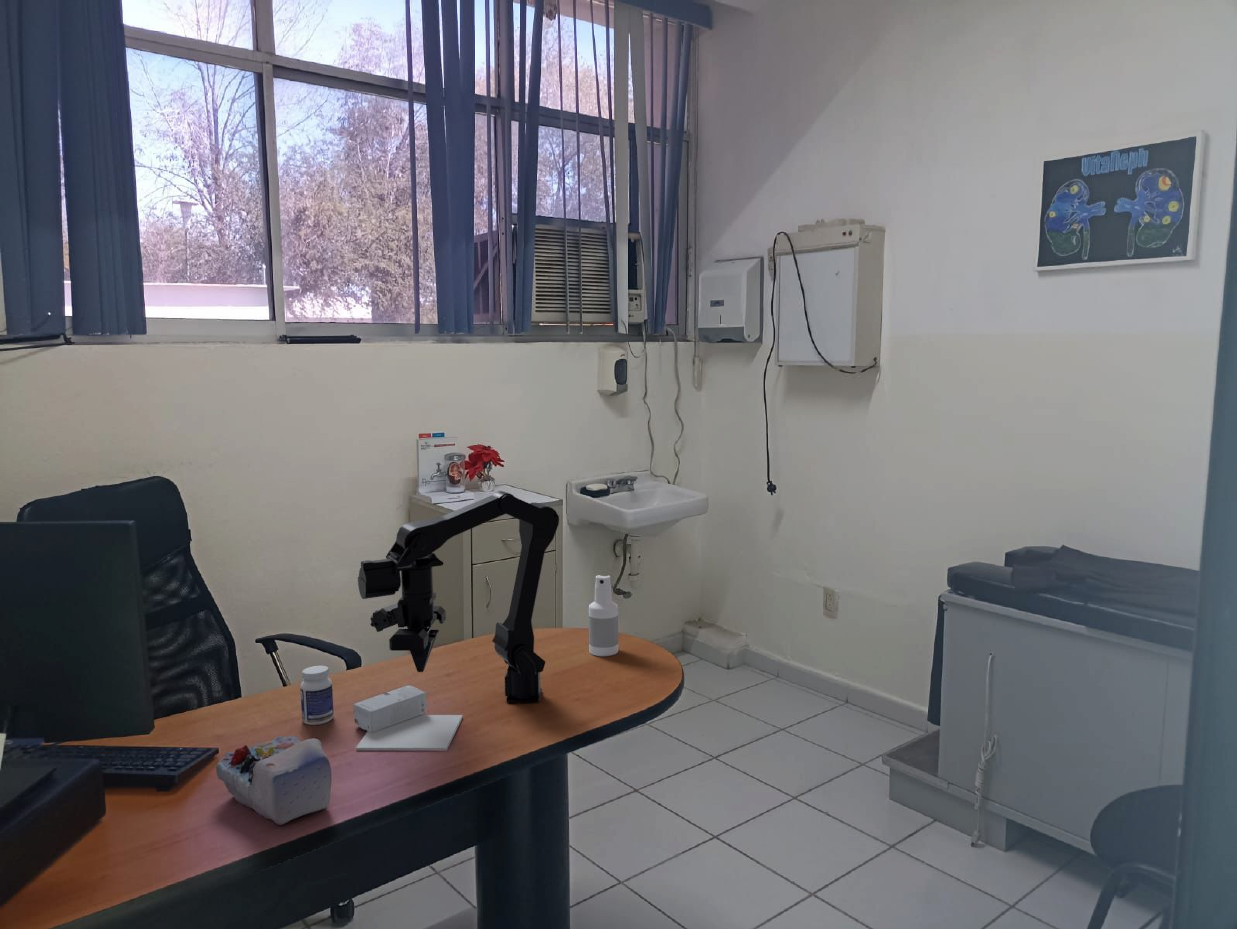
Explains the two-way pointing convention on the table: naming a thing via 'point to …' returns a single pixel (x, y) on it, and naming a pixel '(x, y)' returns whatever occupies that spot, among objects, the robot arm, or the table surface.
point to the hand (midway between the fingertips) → (420, 671)
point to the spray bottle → (603, 620)
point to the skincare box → (390, 708)
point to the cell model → (279, 777)
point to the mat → (414, 734)
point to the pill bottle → (316, 696)
